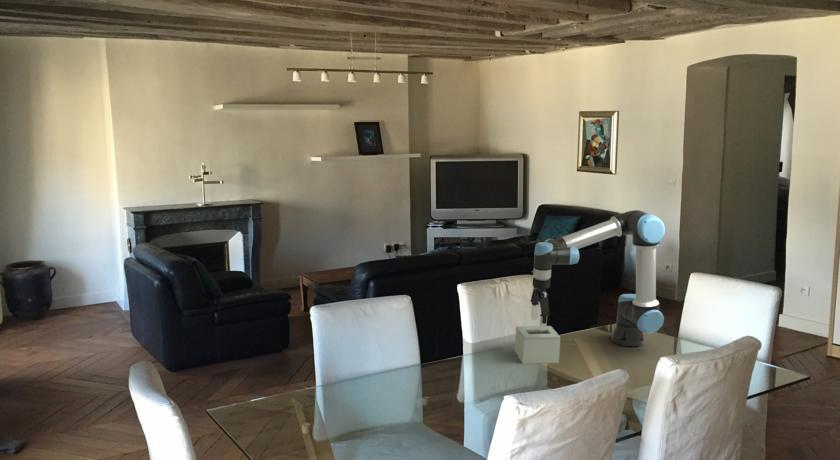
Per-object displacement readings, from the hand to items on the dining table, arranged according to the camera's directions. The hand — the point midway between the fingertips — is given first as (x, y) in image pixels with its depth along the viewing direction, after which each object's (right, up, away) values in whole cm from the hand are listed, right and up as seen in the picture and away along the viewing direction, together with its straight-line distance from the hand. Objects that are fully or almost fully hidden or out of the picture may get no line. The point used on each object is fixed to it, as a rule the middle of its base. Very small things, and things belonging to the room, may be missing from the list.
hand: (538, 324), depth 316 cm
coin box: (0, -15, +3) cm, 15 cm away
